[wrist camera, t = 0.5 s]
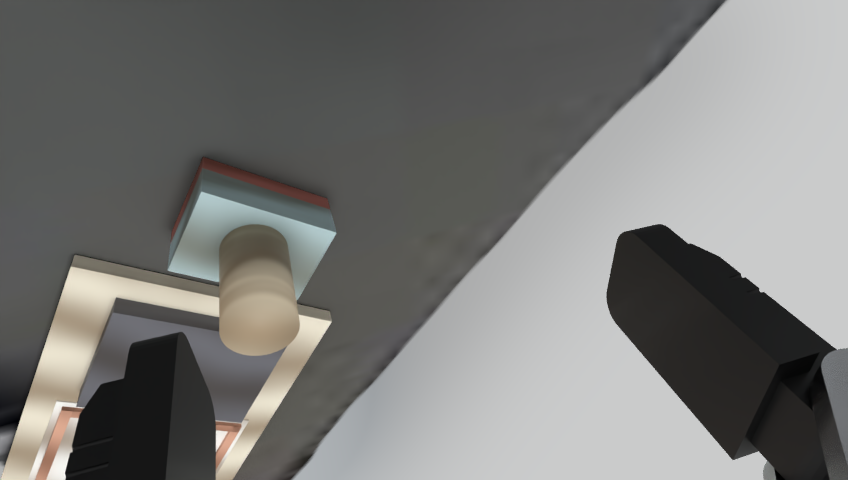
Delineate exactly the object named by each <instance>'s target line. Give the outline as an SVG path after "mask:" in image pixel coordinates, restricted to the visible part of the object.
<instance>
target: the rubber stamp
mask: <svg viewBox="0 0 848 480" xmlns="http://www.w3.org/2000/svg"><path fill="white" fill-rule="evenodd" d="M336 233H337V232H336V229H335V225H334V222H333V218H332V214H331V211H330V207H329V203H328V200H327V198H324V197H321V196H318V195H315V194H312V193H309V192H306V191H303V190H300V189H297V188H294V187H291V186H288V185H285V184H282V183H279V182H276V181H273V180H270V179H267V178H264V177H261V176H258V175H255V174H252V173H250V172H247V171H244V170H241V169H238V168H235V167H232V166H229V165H226V164H223V163H220V162H217V161H214V160H211V159H208V158H205V157H203V158H202V160H201V163H200V165H199V168H198V170H197V172H196V175H195V177H194V180H193V182H192V184H191V187H190V189H189V192H188V194H187V196H186V199H185V201H184V204H183V206H182V208H181V211H180V213H179V216H178V218H177V220H176V223H175V225H174V228H173V230H172V234H171V244H170V253H169V262H168V271H171V272H176V273H180V274H185V275H189V276H194V277H198V278H203V279H207V280H211V281H216V282H219V334H220V338H221V340H222V342H223V343H224V344H225V346H226V347H228V348H229V349H231V350H232V351H234V352H236V353H239V354H243V355H249V356H261V355H267V354H271V353H274V352H277V351H279V350H281V349H283V348H285V347H286V346H288V345H289V344H290V343H291V342H292V341H293V340H294V339H295V338H296V336H297V334H298V332H299V329H300V321H299V314H298V308H297V302H296V300H298V298H299V297H300V295H301V293H302V292H303V290H304V288H305V286H306V285H307V283H308V281H309V279H310V278H311V276H312V274H313V273H314V271H315V269H316V267H317V266H318V264H319V262H320V260H321V259H322V257H323V255H324V254H325V252H326V250H327V248H328V247H329V245H330V243H331V241H332V240H333V238H334V236H335V235H336Z"/></svg>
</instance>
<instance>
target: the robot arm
mask: <svg viewBox="0 0 848 480" xmlns="http://www.w3.org/2000/svg"><path fill="white" fill-rule="evenodd" d="M607 304H608V308H609V311H610V314H611V316H612V318H613V319H614V321H615V323H616V324H617V325H618V326H619V328H620V329H621V330H622V331H623V332H624V333H625V335H627V337H628V338H629V339H630V340H631V342H632V343H633V344H634V345H635V346H636V347H637V349H638V350H639V351H640V352H641V353H642V354H643V356H644V357H645V358H646V359H647V360H648V361H649V363H650V364H651V365H652V366H653V367H654V368H655V370H656V371H657V372H658V373H659V374H660V375H661V377H662V378H663V379H664V380H665V381H666V382H667V384H668V385H669V386H670V387H671V388H672V389H673V391H674V392H675V393H676V394H677V395H678V396H679V398H680V399H681V400H682V401H683V402H684V403H685V405H686V406H687V407H688V408H689V409H690V410H691V412H692V413H693V414H694V415H695V416H696V418H697V419H698V420H699V421H700V422H701V423H702V424H703V426H704V427H705V428H706V429H707V430H708V432H710V434H711V435H712V436H713V437H714V439H715V440H716V441H717V442H718V443H719V444H720V446H721V447H722V448H723V449H724V450H725V451H726V453H727V454H728V455H729V456H730V457H731V458H732V459H733V460H735V459H737V458H740V457H743V456H746V455H749V454H752V453H755V452H758V451H759V452H760V453H761V454H762V455H763V456H764V457H765V458H766V460H767V462H766V464H765V466H764V470H763V476H764V480H848V348H846V349H838V350H837V349H835V348H834V347H832V346H831V345H830V344H829V343H827V342H826V341H825V340H823V339H822V338H821V337H820V336H819V335H817V334H816V333H815V332H814V331H812V330H811V329H810V328H808V327H807V326H806V325H805V324H803V323H802V322H801V321H800V320H798V319H797V318H796V317H795V316H793V315H792V314H791V313H790V312H788V311H787V310H786V309H785V308H783V307H782V306H781V305H779V304H778V303H777V302H776V301H775V300H773V299H772V298H771V297H769V296H768V295H767V294H766V293H764V292H762V293H761V292H760V291H759V288H758V287H757V286H756V285H754V284H753V283H752V282H750V281H749V280H748V279H747V278H742V277H741V274H740V273H739V272H738V271H737V270H735V269H734V268H733V267H732V266H730V265H729V264H728V263H727V262H725V261H724V260H723V259H722V258H720V257H719V256H717V255H715V254H712V253H710V252H708V251H706V250H704V249H702V248H700V247H697V246H695V245H693V244H688V243H686V242H685V241H684V240H683V239H682V238H680V237H679V236H678V235H677V234H675V233H674V232H673V231H672V230H671V229H669V228H668V227H666V226H664V225H661V224H658V225H652V226H648V227H644V228H640V229H635V230H631V231H626V232H623V233H622V234H620V236H619V237H618V239H617V243H616V248H615V253H614V258H613V263H612V268H611V274H610V278H609V283H608V289H607ZM72 450H73V451H72V452H71V453H70V455H69V459H68V463H67V467H66V471H65V475H66V480H216V422H215V413H214V408H213V403H212V399H211V395H210V392H209V390H208V387H207V385H206V382H205V380H204V378H203V375H202V373H201V370H200V368H199V365H198V363H197V361H196V358H195V356H194V353H193V351H192V348H191V346H190V343H189V341H188V339H187V337H186V335H185V334H184V333H183V332H177V333H173V334H169V335H164V336H160V337H155V338H151V339H147V340H142V341H138V342H134V343H132V344H131V346H130V348H129V353H128V358H127V364H126V369H125V375H124V378H123V379H119V380H115V381H111V382H107V383H103V384H101V385H100V386H99V388H98V389H97V390H96V392H95V393H94V395H93V396H92V397H91V399H90V400H89V402H88V403H87V405H86V406H85V407H84V409H83V410H82V412H81V413H80V415H79V419H78V423H77V427H76V431H75V435H74V439H73V443H72Z"/></svg>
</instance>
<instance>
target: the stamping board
mask: <svg viewBox="0 0 848 480" xmlns="http://www.w3.org/2000/svg"><path fill="white" fill-rule="evenodd" d="M297 308H298V314H299V321H300V329H299V332H298V334H297V336H296V338H295V339H294V340H293V341H292V342H291V343H290V344H289V345H288V346H286V347H285V348H283V349H281V350H279V351H277V352H274V353H271V354H267V355H261V356H249V355H243V354H239V353H236V352H234V351H232V350H231V349H229V348H228V347H226V346H225V344H224V343H223V342H222V340H221V338H220V334H219V286H214V285H210V284H205V283H201V282H196V281H192V280H187V279H183V278H178V277H174V276H169V275H165V274H160V273H156V272H151V271H147V270H142V269H138V268H133V267H129V266H124V265H120V264H115V263H111V262H106V261H102V260H97V259H93V258H88V257H84V256H79V255H74V258H73V261H72V264H71V267H70V270H69V274H68V277H67V280H66V283H65V286H64V289H63V292H62V295H61V298H60V301H59V304H58V307H57V310H56V313H55V316H54V319H53V322H52V325H51V328H50V331H49V334H48V337H47V340H46V343H45V346H44V349H43V352H42V355H41V359H40V362H39V365H38V368H37V371H36V374H35V377H34V380H33V383H32V386H31V389H30V392H29V395H28V398H27V401H26V404H25V407H24V410H23V413H22V416H21V419H20V422H19V425H18V428H17V431H16V434H15V437H14V440H13V443H12V447H11V450H10V453H9V456H8V459H7V462H6V465H5V468H4V471H3V474H2V477H1V480H66V475H65V471H66V467H67V463H68V459H69V455H70V453H71V452H72V451H73V450H72V443H73V439H74V435H75V431H76V427H77V423H78V419H79V415H80V413H81V412H82V410H83V409H84V407H85V406H86V405H87V403H88V402H89V400H90V399H91V397H92V396H93V395H94V393H95V392H96V390H97V389H98V388H99V386H100V385H101V384H103V383H107V382H111V381H115V380H119V379H123V378H124V375H125V369H126V364H127V358H128V353H129V348H130V346H131V344H132V343H134V342H138V341H142V340H147V339H151V338H155V337H160V336H164V335H169V334H173V333H177V332H183V333H184V334H185V335H186V337H187V339H188V341H189V343H190V346H191V348H192V351H193V353H194V356H195V358H196V361H197V363H198V365H199V368H200V370H201V373H202V375H203V378H204V380H205V382H206V385H207V387H208V390H209V392H210V395H211V399H212V403H213V408H214V413H215V422H216V480H232V479H233V478H234V476H235V475H236V473H237V471H238V470H239V468H240V467H241V465H242V463H243V462H244V460H245V459H246V457H247V456H248V454H249V452H250V451H251V449H252V448H253V446H254V444H255V443H256V441H257V440H258V438H259V436H260V435H261V433H262V432H263V430H264V429H265V427H266V425H267V424H268V422H269V421H270V419H271V417H272V416H273V414H274V413H275V411H276V409H277V408H278V406H279V405H280V403H281V401H282V400H283V398H284V397H285V395H286V394H287V392H288V390H289V389H290V387H291V386H292V384H293V382H294V381H295V379H296V378H297V376H298V374H299V373H300V371H301V370H302V368H303V367H304V365H305V363H306V362H307V360H308V359H309V357H310V355H311V354H312V352H313V351H314V349H315V347H316V346H317V344H318V343H319V341H320V340H321V338H322V336H323V335H324V333H325V332H326V330H327V328H328V327H329V325H330V324H331V322H332V320H331V316H330V311H327V310H322V309H318V308H313V307H309V306H304V305H300V304H297Z"/></svg>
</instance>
